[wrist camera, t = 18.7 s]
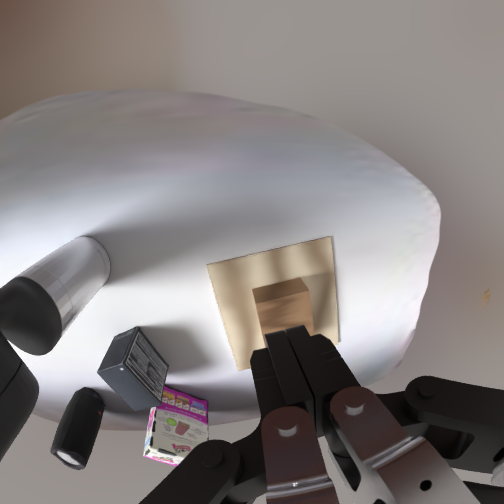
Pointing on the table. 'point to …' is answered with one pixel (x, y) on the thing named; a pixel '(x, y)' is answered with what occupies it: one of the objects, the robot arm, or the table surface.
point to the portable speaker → (78, 429)
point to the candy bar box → (176, 427)
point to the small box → (134, 370)
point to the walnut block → (283, 306)
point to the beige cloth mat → (269, 272)
